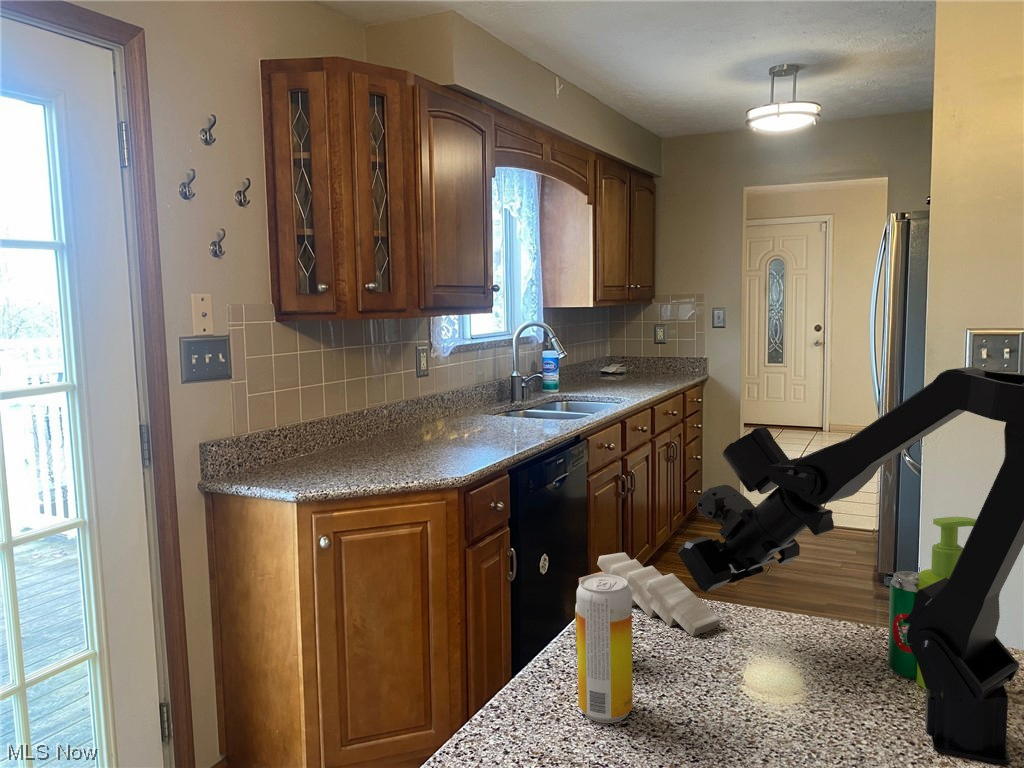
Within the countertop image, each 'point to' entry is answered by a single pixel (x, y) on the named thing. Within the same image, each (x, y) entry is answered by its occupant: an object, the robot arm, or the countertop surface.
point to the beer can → (604, 647)
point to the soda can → (902, 623)
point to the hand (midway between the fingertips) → (705, 582)
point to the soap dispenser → (943, 558)
